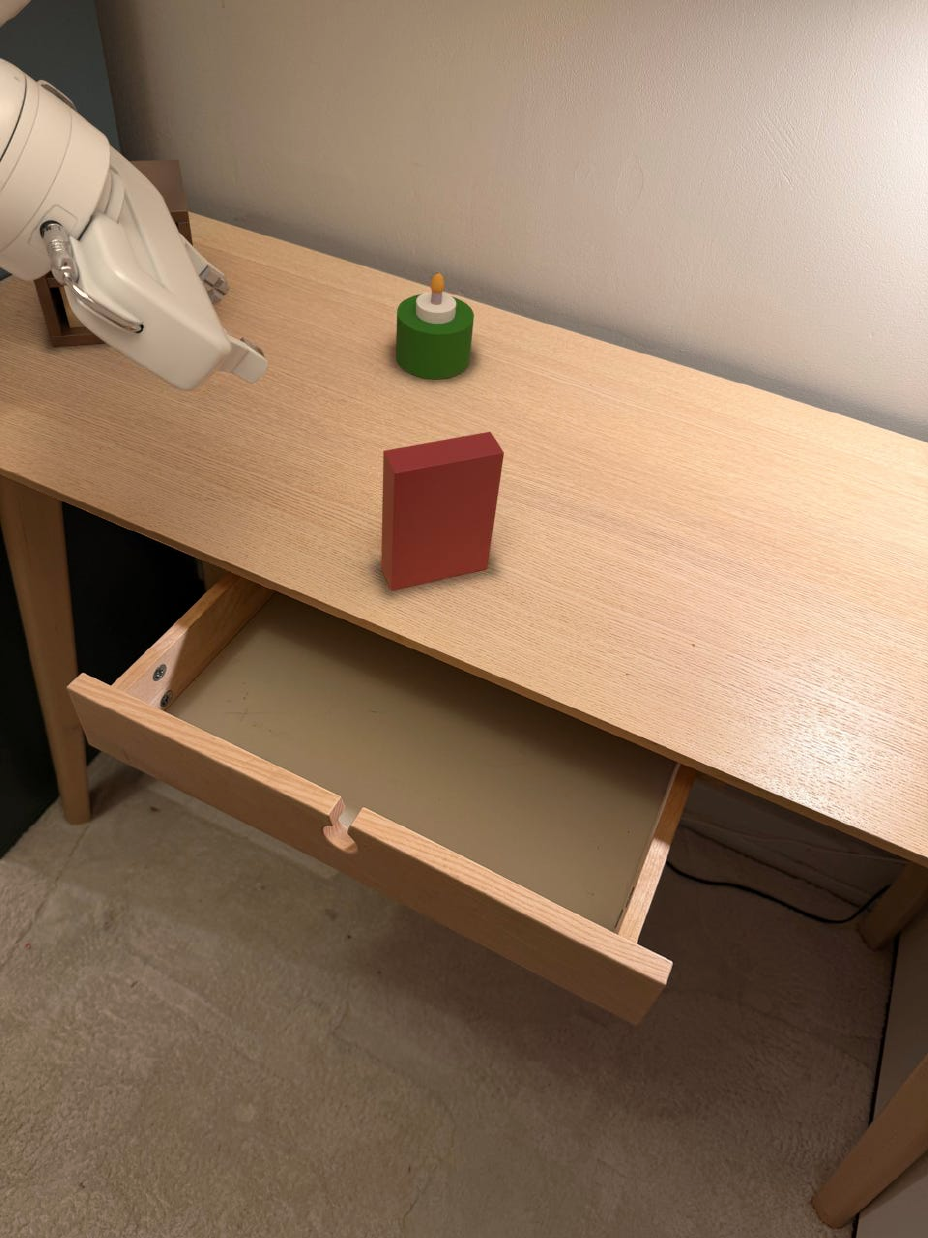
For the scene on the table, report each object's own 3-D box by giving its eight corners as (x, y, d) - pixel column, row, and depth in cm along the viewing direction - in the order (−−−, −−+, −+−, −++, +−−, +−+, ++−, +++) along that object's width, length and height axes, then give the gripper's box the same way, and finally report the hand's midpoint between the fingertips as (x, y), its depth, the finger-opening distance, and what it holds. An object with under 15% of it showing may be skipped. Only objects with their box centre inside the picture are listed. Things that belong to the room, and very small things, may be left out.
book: (391, 591, 78) (394, 473, 68) (381, 568, 80) (383, 450, 70) (487, 568, 81) (504, 452, 71) (475, 547, 82) (490, 431, 73)
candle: (403, 381, 98) (406, 296, 91) (389, 339, 104) (391, 255, 96) (477, 376, 100) (486, 292, 93) (460, 335, 105) (467, 252, 98)
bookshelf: (52, 346, 97) (15, 217, 87) (54, 289, 105) (19, 163, 94) (206, 335, 101) (187, 210, 91) (197, 280, 109) (179, 159, 98)
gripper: (99, 231, 40) (321, 383, 51) (42, 69, 52) (231, 218, 63) (21, 337, 42) (250, 462, 53) (-17, 156, 54) (176, 287, 65)
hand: (239, 328), depth 58 cm, fingers open, 8 cm apart
